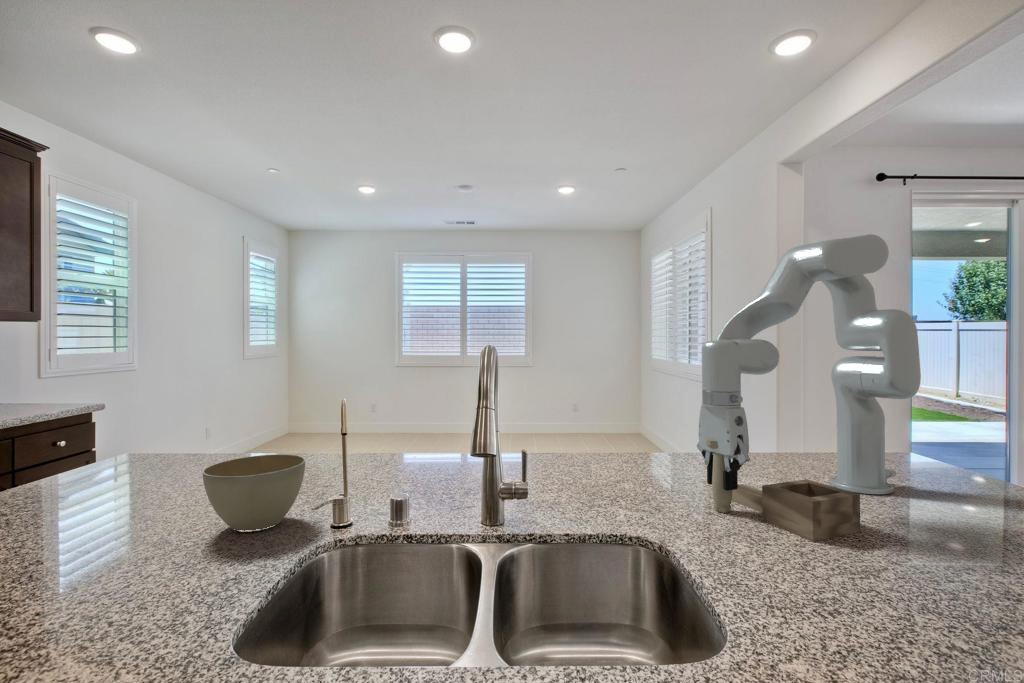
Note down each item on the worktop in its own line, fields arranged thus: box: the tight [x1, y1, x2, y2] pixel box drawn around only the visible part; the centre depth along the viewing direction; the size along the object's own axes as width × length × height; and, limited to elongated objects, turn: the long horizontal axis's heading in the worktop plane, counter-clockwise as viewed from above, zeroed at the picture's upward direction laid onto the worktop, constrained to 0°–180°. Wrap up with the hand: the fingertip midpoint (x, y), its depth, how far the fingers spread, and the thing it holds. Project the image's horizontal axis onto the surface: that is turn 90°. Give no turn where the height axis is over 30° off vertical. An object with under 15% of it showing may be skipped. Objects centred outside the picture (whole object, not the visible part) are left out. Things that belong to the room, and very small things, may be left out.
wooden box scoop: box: [731, 479, 861, 542], centre depth 102 cm, size 12×24×7 cm, turn 20°
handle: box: [705, 438, 733, 514], centre depth 105 cm, size 5×6×15 cm
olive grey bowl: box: [202, 453, 306, 531], centre depth 99 cm, size 18×18×12 cm
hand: (722, 485), depth 105 cm, fingers closed on handle, 3 cm apart
